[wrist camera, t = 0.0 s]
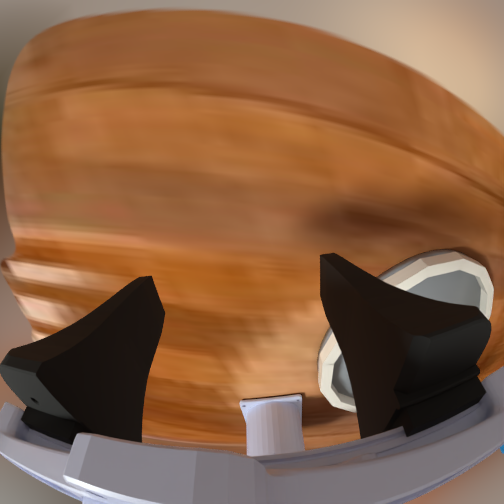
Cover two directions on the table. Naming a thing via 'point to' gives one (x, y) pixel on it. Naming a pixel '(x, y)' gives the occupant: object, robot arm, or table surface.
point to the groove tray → (417, 282)
